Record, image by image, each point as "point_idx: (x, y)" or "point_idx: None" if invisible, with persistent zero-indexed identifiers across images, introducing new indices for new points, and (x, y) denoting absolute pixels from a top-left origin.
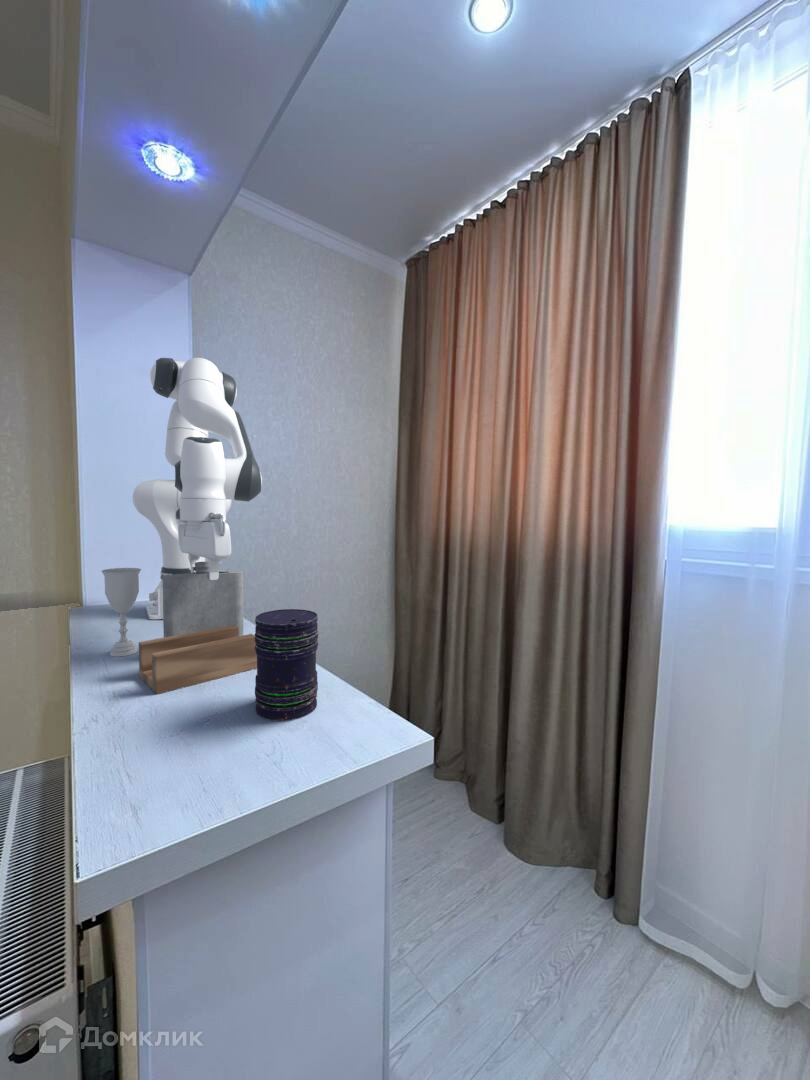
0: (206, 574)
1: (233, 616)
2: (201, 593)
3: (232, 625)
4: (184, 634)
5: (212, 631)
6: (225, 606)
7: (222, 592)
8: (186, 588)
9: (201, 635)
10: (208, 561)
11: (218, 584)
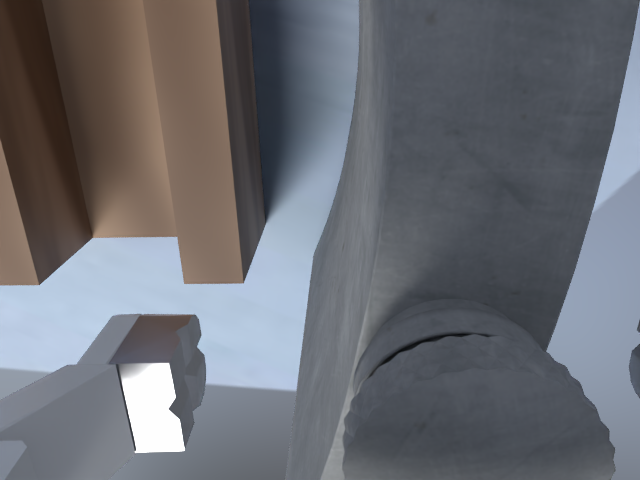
0: (355, 365)
1: (308, 322)
2: (358, 227)
3: (241, 276)
4: (206, 8)
5: (181, 156)
6: (321, 321)
7: (323, 365)
8: (377, 115)
9: (156, 88)
10: (13, 465)
11: (329, 386)
